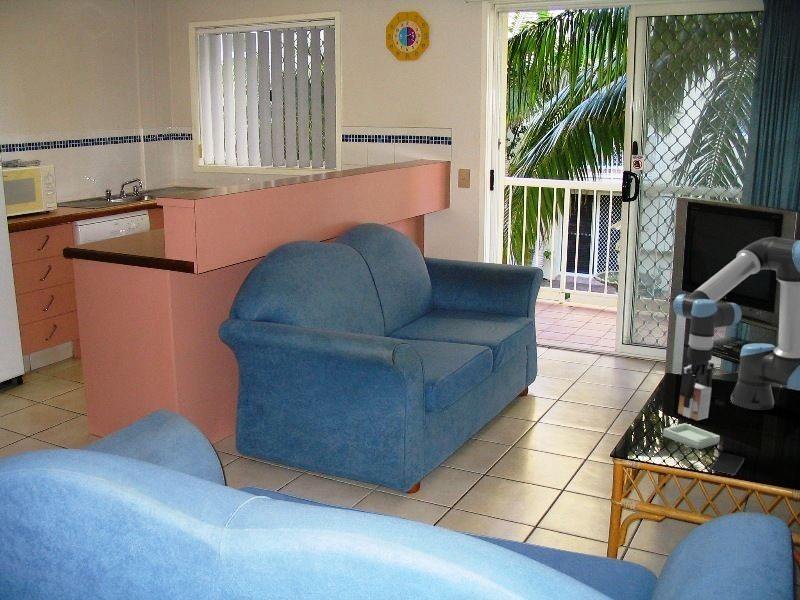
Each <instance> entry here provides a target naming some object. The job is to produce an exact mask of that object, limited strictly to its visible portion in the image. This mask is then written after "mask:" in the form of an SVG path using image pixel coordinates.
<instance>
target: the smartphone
mask: <svg viewBox="0 0 800 600" xmlns="http://www.w3.org/2000/svg"><path fill="white" fill-rule="evenodd" d="M744 461H745V457H742V456H739V455H735V454H730V453H724V452H721V453H719V455H718V456H717V458H716V459H715V461H714V462H713V464H712V466H711V467H710V469H711V470H713V471H712V472H714V471H718V472H717V473H719V472H722V473H721V474H723V473H727V474H726V475H728V474H731V475H730V476H735V475H736V474H737V473H738V472H739V469H740V468H741V467H742V465H743V463H744ZM711 470H710V471H711Z"/></svg>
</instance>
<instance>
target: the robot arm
mask: <svg viewBox="0 0 800 600" xmlns="http://www.w3.org/2000/svg"><path fill="white" fill-rule="evenodd" d="M735 257H736V258H734V259H733V260H732V261H730V262H729V263H728V264H726V265H725V266H724V267H723V268H722V269H720V270H719V271H718V272H717V273H715V274H714V275H713V276H711V277H710V278H709V279H708V280H707V281H705V282H704V283H703V284H701V285H700V286H699V287H698V288H697V289H695V290H694V291H693V292H691V293H690V294H687V293H685V294H684V293H683V294H682V293H681V294H678V295H677V296H676V297H675V299H674V300H673V306H672V307H673V312H674V313H675V314H676V315H677V316H680V317H683V318H684V319H685V318H687V319H690V328H689V329H690V330H689V335H688V336H689V338H688V345H689V346H688V347H687V352H686V353H687V355H686V356H687V358H688V359H689V362H688V364H687V366H683V367H682V368H681V373H682V374H681V383H680V391H679V397H680V396H683V397H684V404H683V406H684V409H683V415H682V416H683V417H686V418H688V419H692V418H691V414H692V404H693V398H691V397H692V394H693V390H694V387H695V383H697V384H700V385H704V386H707V387H711V388H712V383H713V381H712V380H713V371H714V367H715V364H714V363H712V362H709V361H712V356H713V347H714V337H715V330H716V328H723V327H731V326H734V325H736V324H738V323H739V322H740V321H741V319H742V314H743V312H742V310H741V307H740V306H739V305H738V304H737V303H734V302H728V301H727V302H719V300H721V299H722V298H723V297H724V296H726V295H727V294H728V293H729V292H731V291H732V290H733V289H734V288H735V287H737V286H738V285H739V284H741V282H742V281H744V280H746V279H747V278H748V277H749V276H750V275H754V274H758V273H759V272H760V271H763V270H771V271H775V272H776V273H775V274H776V275H775V278H776V280H777V281H778V282H779V284H780V290H779V313H778V314H779V318H778V319H779V320H778V345H777V347H776V346H775V345H774V344H772V343H760V342H759V343H756V342H755V343H747V344H744V345H743V346H742V347H741V350H740V355H739V366H738V373H737V374H738V375H737V376H738V377H737V383H736V384H735V387H734V388H733V390H732V393H731V395H730V400H731V401H730V403H731V402H732V403H731V404H732V405H734V404H735V405H734V406H736V405H737V407H739V406H740V407H739V408H742V407H743V408H742V409H746V408H747V409H748V410H755V411H769V410H772V409H773V408H774V405H775V399H774V395H773V391H772V384H774V385H778V386H780V387H784V388H787V389H789V390H791V389H792V390H794V391H795V390H796V391H800V240H799V239H792V238H784V237H779V236H778V237H777V236H768V237H763V238H760V239H758V240H755V241H754V242H752V243H750V244H747V246H745V247H744V248H742V249H741V250H739V251H738V252H737V253H736V256H735ZM688 394H689V395H688Z"/></svg>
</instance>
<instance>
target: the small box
mask: <svg viewBox="0 0 800 600" xmlns="http://www.w3.org/2000/svg"><path fill="white" fill-rule="evenodd" d="M688 395H689V394H688ZM711 397H712V386H711V387H707V386H704V385H700V384H698V382H696V383H695V387H694V390H693V394H692V397H691V398H693V404H692V414H691V418H690V419H693V420H695V421H700V420H704V419H708V418H709V413H710V412H709V411H710V405H711ZM683 404H684V397H683V396H680V395H679V401H678V407H677V408H678V409H677V413H678V414H680V415H682V416H683V409H684V406H683Z"/></svg>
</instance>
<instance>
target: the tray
mask: <svg viewBox="0 0 800 600" xmlns="http://www.w3.org/2000/svg"><path fill="white" fill-rule="evenodd" d="M662 432H663V433H662V436H663V437H665V438H667V439H670V440H672V441H675V442H678V443H680V444H682V445H685V446H687V447H691V448H692V449H696V450H700V449H701V450H702V449H704V448H708V447H711V446H714V445H718V444H720V440H721V439H720V437H721V436H720V435H719V434H715V433H713V432H711V431H707V430H705V429H702V428H699V427H696V426H693V425H691V424H688V423H685V422H684V423H680V424H676V425H673V426H669V427H665V428H663V431H662Z"/></svg>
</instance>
